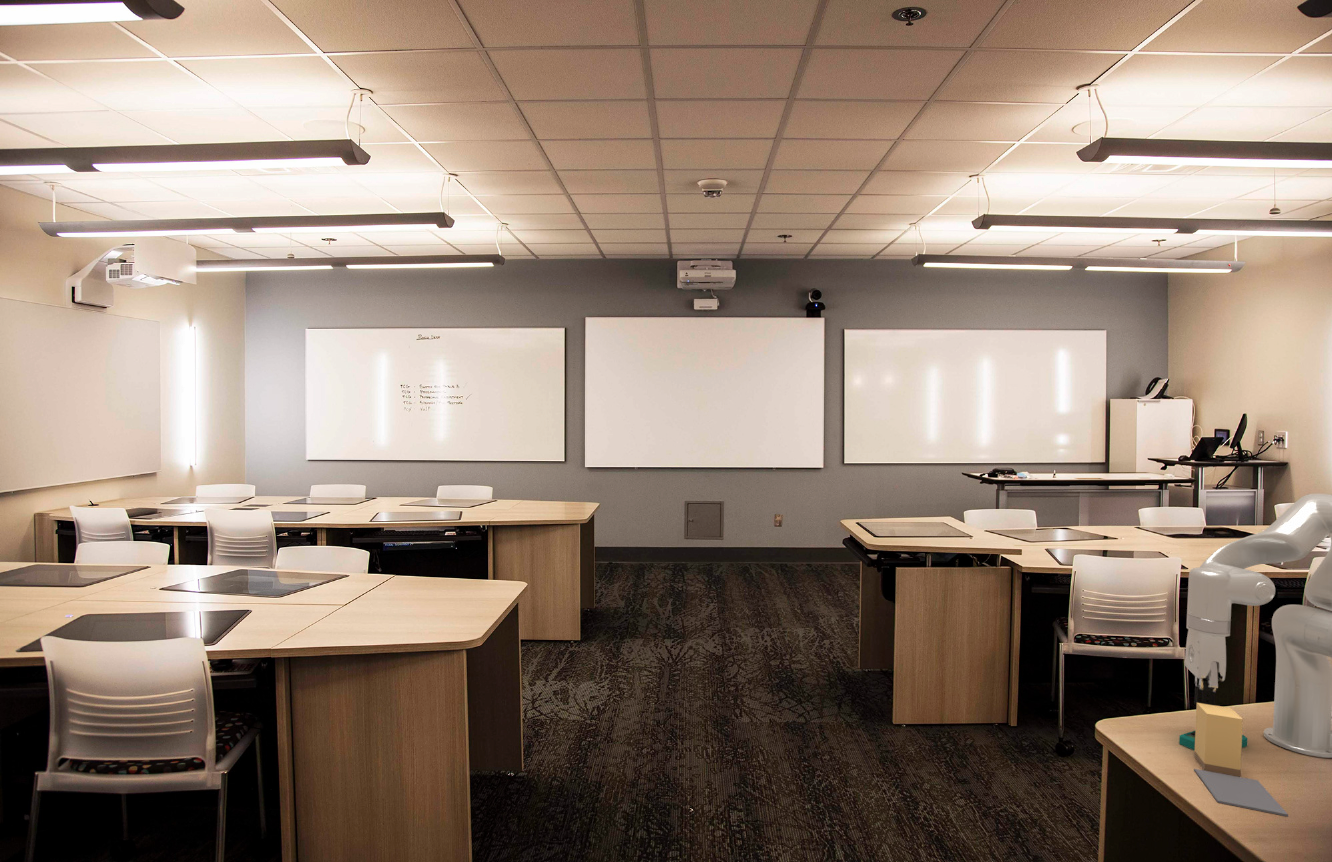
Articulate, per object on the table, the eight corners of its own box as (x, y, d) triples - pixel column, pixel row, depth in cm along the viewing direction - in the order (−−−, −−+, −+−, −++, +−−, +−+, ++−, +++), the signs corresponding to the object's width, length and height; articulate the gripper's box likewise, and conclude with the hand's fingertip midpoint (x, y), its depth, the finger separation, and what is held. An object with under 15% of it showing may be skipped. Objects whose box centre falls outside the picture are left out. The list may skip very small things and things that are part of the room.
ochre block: (1228, 763, 143) (1231, 707, 143) (1240, 777, 138) (1242, 719, 137) (1194, 757, 145) (1196, 702, 145) (1204, 770, 140) (1206, 713, 140)
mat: (1257, 782, 136) (1257, 780, 136) (1288, 816, 124) (1288, 814, 124) (1194, 770, 140) (1194, 768, 140) (1217, 802, 128) (1217, 800, 128)
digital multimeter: (1249, 747, 152) (1249, 734, 152) (1215, 760, 145) (1216, 747, 145) (1211, 733, 158) (1211, 721, 158) (1177, 745, 152) (1177, 732, 151)
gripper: (1176, 613, 157) (1173, 691, 157) (1199, 631, 143) (1195, 716, 144) (1216, 618, 154) (1212, 697, 154) (1243, 636, 140) (1239, 723, 141)
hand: (1204, 706), depth 149 cm, fingers closed
